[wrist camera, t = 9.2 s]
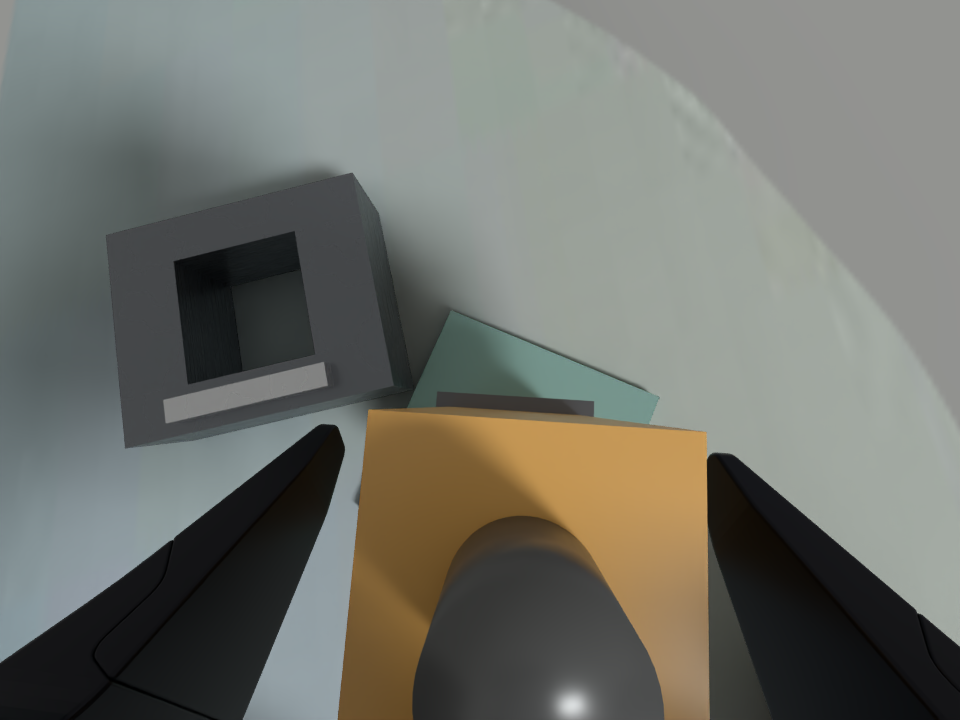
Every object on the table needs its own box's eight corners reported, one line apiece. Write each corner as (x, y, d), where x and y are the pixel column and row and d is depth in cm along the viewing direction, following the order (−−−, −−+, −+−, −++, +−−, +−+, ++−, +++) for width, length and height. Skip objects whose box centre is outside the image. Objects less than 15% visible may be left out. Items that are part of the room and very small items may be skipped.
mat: (569, 614, 17) (572, 621, 16) (363, 511, 18) (358, 514, 17) (654, 397, 18) (659, 396, 17) (452, 313, 19) (451, 310, 18)
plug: (562, 518, 17) (931, 1211, 2) (448, 508, 17) (161, 1056, 3) (566, 402, 17) (875, 389, 3) (456, 395, 18) (259, 354, 3)
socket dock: (414, 389, 19) (389, 384, 15) (193, 440, 19) (110, 450, 15) (378, 212, 20) (346, 163, 16) (173, 263, 20) (91, 228, 16)
